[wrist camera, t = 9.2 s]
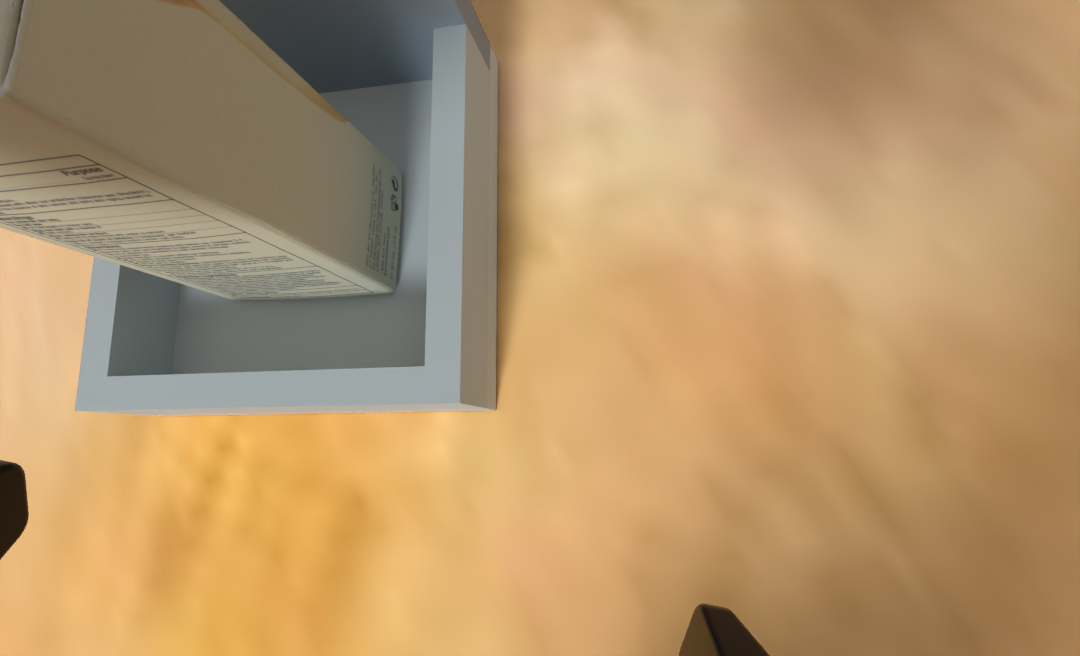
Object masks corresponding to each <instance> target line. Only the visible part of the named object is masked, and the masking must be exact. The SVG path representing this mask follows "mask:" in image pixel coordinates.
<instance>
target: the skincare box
mask: <svg viewBox="0 0 1080 656" xmlns="http://www.w3.org/2000/svg"><path fill="white" fill-rule="evenodd" d="M401 190H402V174H401V170H400V169H399V168H398V167H397V166H396V165H395V164H394V163H393V162H392V161H391V160H389V159H388V158H387V157H386V156H385V155H384V154H383V153H382V152H381V151H380V150H379V149H378V148H377V147H376V146H375V145H374V144H373V143H371V142H370V141H369V140H368V139H367V138H366V137H365V136H364V135H363V134H362V133H361V132H360V131H359V130H358V129H357V128H356V127H355V126H353V125H352V124H351V123H350V122H349V121H348V120H347V119H346V118H345V117H343V116H342V115H341V114H340V113H339V112H338V111H337V110H336V109H335V108H334V107H333V106H332V105H330V104H329V103H328V102H327V101H326V100H325V99H324V98H323V97H322V96H321V95H320V94H319V93H318V92H317V91H316V90H314V89H313V88H312V87H311V86H310V85H309V84H308V83H307V82H306V81H305V80H304V79H303V78H302V77H301V76H300V75H298V74H297V73H296V72H295V71H294V70H293V69H292V68H291V67H290V66H289V65H288V64H287V63H286V62H285V61H284V60H283V59H282V58H280V57H279V56H278V55H277V54H276V53H275V52H274V51H273V50H272V49H271V48H269V47H268V46H267V45H266V44H265V43H264V42H263V41H262V40H261V39H260V38H259V37H258V36H257V35H256V34H254V33H253V32H252V31H251V30H250V29H249V28H248V27H247V26H246V25H245V24H244V23H243V22H242V21H241V20H240V19H239V18H238V17H237V16H235V15H234V14H233V13H232V12H231V11H230V10H229V9H228V8H227V7H226V6H225V5H223V4H222V3H221V2H220V1H219V0H0V228H3V229H7V230H10V231H13V232H16V233H20V234H23V235H26V236H29V237H32V238H36V239H39V240H42V241H45V242H48V243H52V244H55V245H58V246H61V247H65V248H68V249H71V250H74V251H78V252H81V253H84V254H87V255H90V256H94V257H97V258H100V259H103V260H107V261H110V262H113V263H116V264H120V265H123V266H126V267H129V268H132V269H136V270H139V271H142V272H145V273H148V274H151V275H155V276H158V277H161V278H164V279H168V280H171V281H174V282H178V283H181V284H184V285H187V286H190V287H193V288H196V289H199V290H202V291H206V292H209V293H212V294H215V295H218V296H221V297H225V298H228V299H231V300H289V299H311V298H330V297H346V296H359V295H371V294H382V293H392V292H393V291H394V290H395V286H396V274H397V262H398V250H399V237H400V219H401Z"/></svg>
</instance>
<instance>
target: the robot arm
mask: <svg viewBox="0 0 1080 656" xmlns="http://www.w3.org/2000/svg"><path fill="white" fill-rule="evenodd" d="M28 514H29V513H28V502H27V491H26V480H25V473H24V470H23V469H22V467H21V466H20V465H18V464H16V463H12V462H7V461H3V460H0V559H1V558H2V557H3V556H4V555H5V553H6V552H7V551H8V550H9V549H10V547H11V546H12V545H13V544H14V543H15V542H16V540H17V539H18V538H19V537H20V535H21V534H22V532H23V531H24V529H25V527H26V524H27V521H28ZM679 656H769V654H768V653H767V652H766V651H765V650H764V649H763V647H762V646H761V645H760V644H759V643H758V641H757V640H756V639H755V638H754V637H753V636H752V634H751V633H750V632H749V631H748V630H747V629H746V627H745V626H744V625H743V624H742V623H741V621H740V620H739V619H738V618H737V617H736V616H735V614H734V613H733V612H732V611H730V610H729V609H727V608H723V607H718V606H713V605H709V604H700V605H698V606H697V607H696V609H695V610H694V613H693V616H692V618H691V621H690V624H689V627H688V629H687V632H686V635H685V638H684V640H683V643H682V646H681V649H680V653H679Z"/></svg>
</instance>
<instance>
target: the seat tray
mask: <svg viewBox="0 0 1080 656" xmlns="http://www.w3.org/2000/svg"><path fill="white" fill-rule="evenodd" d="M219 1H220V2H221V3H222V4H223V5H225V6H226V7H227V8H228V9H229V10H230V11H231V12H232V13H233V14H234V15H235V16H237V17H238V18H239V19H240V20H241V21H242V22H243V23H244V24H245V25H246V26H247V27H248V28H249V29H250V30H251V31H252V32H253V33H254V34H256V35H257V36H258V37H259V38H260V39H261V40H262V41H263V42H264V43H265V44H266V45H267V46H268V47H269V48H271V49H272V50H273V51H274V52H275V53H276V54H277V55H278V56H279V57H280V58H282V59H283V60H284V61H285V62H286V63H287V64H288V65H289V66H290V67H291V68H292V69H293V70H294V71H295V72H296V73H297V74H298V75H300V76H301V77H302V78H303V79H304V80H305V81H306V82H307V83H308V84H309V85H310V86H311V87H312V88H313V89H314V90H316V91H317V92H318V93H319V94H320V95H321V96H322V97H323V98H324V99H325V100H326V101H327V102H328V103H329V104H330V105H332V106H333V107H334V108H335V109H336V110H337V111H338V112H339V113H340V114H341V115H342V116H343V117H345V118H346V119H347V120H348V121H349V122H350V123H351V124H352V125H353V126H355V127H356V128H357V129H358V130H359V131H360V132H361V133H362V134H363V135H364V136H365V137H366V138H367V139H368V140H369V141H370V142H371V143H373V144H374V145H375V146H376V147H377V148H378V149H379V150H380V151H381V152H382V153H383V154H384V155H385V156H386V157H387V158H388V159H389V160H391V161H392V162H393V163H394V164H395V165H396V166H397V167H398V168H399V169H400V170H401V174H402V190H401V219H400V237H399V250H398V262H397V274H396V286H395V290H394V291H393V292H392V293H382V294H371V295H359V296H346V297H330V298H311V299H289V300H231V299H228V298H225V297H221V296H218V295H215V294H212V293H209V292H206V291H202V290H199V289H196V288H193V287H190V286H187V285H184V284H181V283H178V282H174V281H171V280H168V279H164V278H161V277H158V276H155V275H151V274H148V273H145V272H142V271H139V270H136V269H132V268H129V267H126V266H123V265H120V264H116V263H113V262H110V261H107V260H103V259H100V258H97V257H94V261H93V269H92V277H91V285H90V293H89V301H88V309H87V317H86V325H85V333H84V341H83V349H82V357H81V365H80V373H79V381H78V389H77V397H76V405H75V411H85V412H102V413H120V414H137V415H155V416H199V415H256V414H312V413H369V412H426V411H482V410H496V332H497V177H498V60H497V58H496V56H495V54H494V52H493V49H492V47H491V45H490V43H489V41H488V39H487V36H486V34H485V32H484V30H483V28H482V26H481V23H480V21H479V19H478V17H477V15H476V13H475V10H474V8H473V6H472V4H471V2H470V0H219Z"/></svg>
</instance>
